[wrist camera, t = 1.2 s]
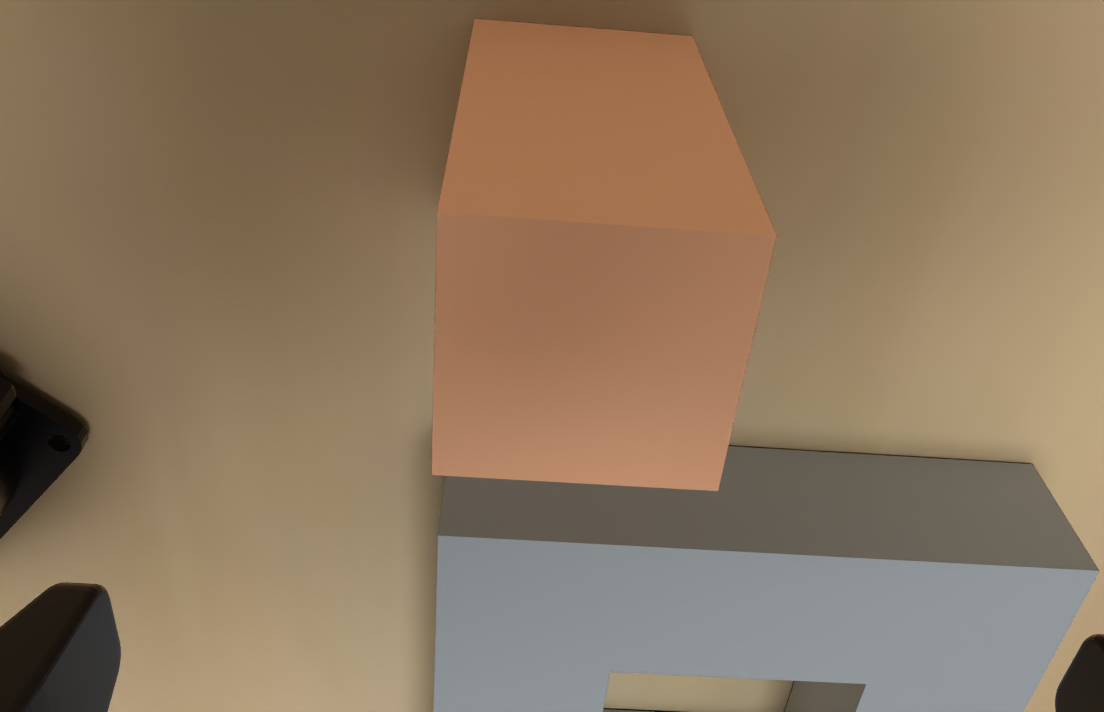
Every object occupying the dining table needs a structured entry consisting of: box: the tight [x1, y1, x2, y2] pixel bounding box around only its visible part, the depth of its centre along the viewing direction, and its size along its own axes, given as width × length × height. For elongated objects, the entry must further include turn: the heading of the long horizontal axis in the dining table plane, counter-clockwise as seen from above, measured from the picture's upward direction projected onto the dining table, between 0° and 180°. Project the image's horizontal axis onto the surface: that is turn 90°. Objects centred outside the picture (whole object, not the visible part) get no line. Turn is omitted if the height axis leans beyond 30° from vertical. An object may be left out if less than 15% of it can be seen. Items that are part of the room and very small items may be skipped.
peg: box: [432, 19, 777, 491], centre depth 16 cm, size 4×4×8 cm
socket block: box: [433, 446, 1099, 712], centre depth 26 cm, size 14×14×4 cm
